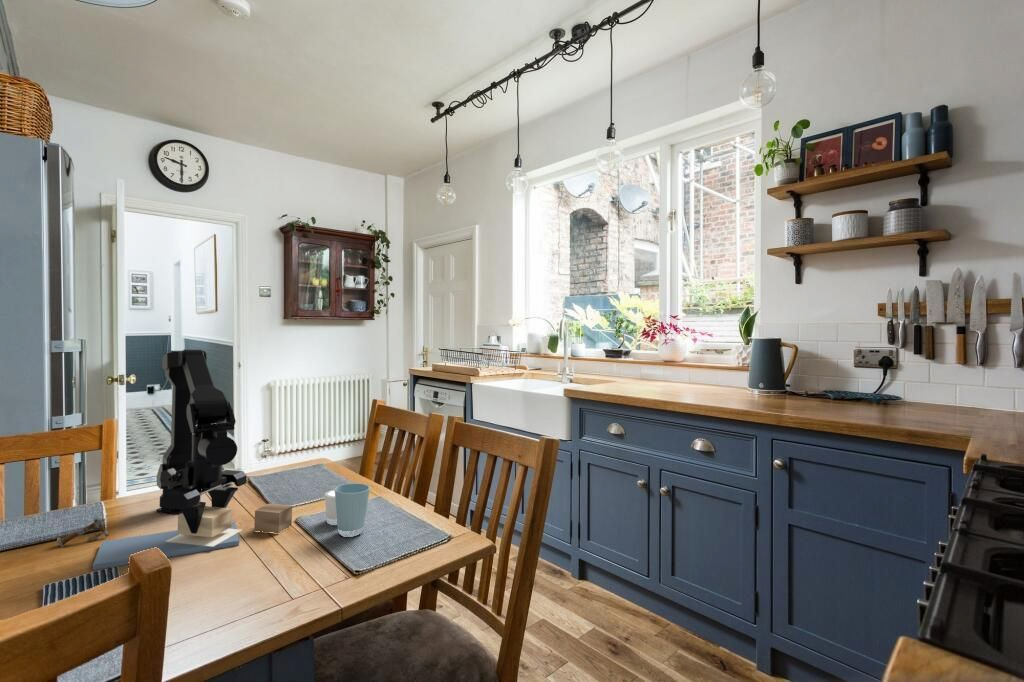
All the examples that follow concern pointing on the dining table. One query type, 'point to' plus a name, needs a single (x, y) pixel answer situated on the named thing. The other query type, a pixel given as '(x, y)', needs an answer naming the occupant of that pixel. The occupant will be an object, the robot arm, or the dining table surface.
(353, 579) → the dining table surface
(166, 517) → the dining table surface
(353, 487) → the cup
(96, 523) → the wooden post with brackets
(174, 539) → the board
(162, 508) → the robot arm
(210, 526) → the beech block
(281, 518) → the walnut block
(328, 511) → the shot glass
